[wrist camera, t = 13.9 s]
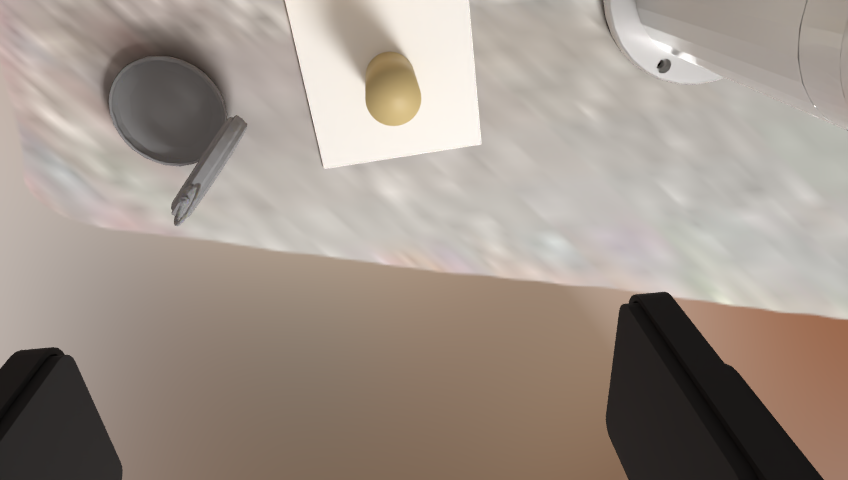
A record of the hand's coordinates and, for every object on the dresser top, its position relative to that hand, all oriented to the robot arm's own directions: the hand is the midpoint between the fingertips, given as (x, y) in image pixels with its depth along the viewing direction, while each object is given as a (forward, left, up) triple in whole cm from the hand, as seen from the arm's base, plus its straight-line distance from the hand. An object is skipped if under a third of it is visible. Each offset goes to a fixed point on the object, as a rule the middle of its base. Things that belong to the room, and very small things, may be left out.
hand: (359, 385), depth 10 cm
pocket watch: (+11, +2, -29) cm, 31 cm away
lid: (-1, +1, -29) cm, 29 cm away
